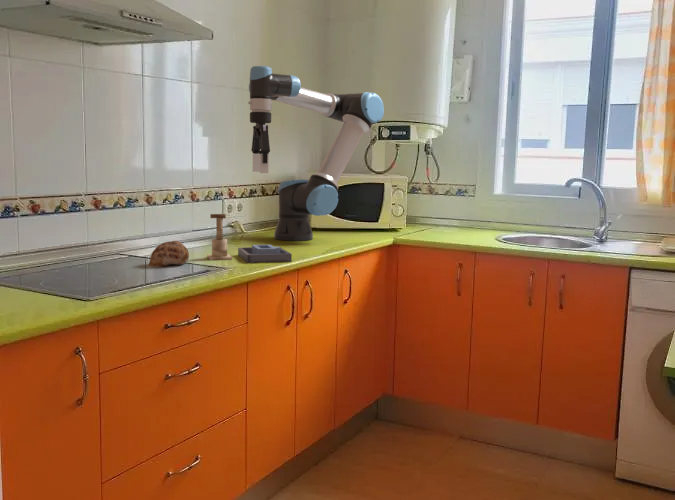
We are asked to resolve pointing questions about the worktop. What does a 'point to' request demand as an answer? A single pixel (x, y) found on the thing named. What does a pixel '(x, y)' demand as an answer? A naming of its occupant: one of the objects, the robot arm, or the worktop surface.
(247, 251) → the tray
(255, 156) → the robot arm
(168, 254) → the seashell
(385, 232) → the worktop surface
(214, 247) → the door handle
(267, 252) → the ring
